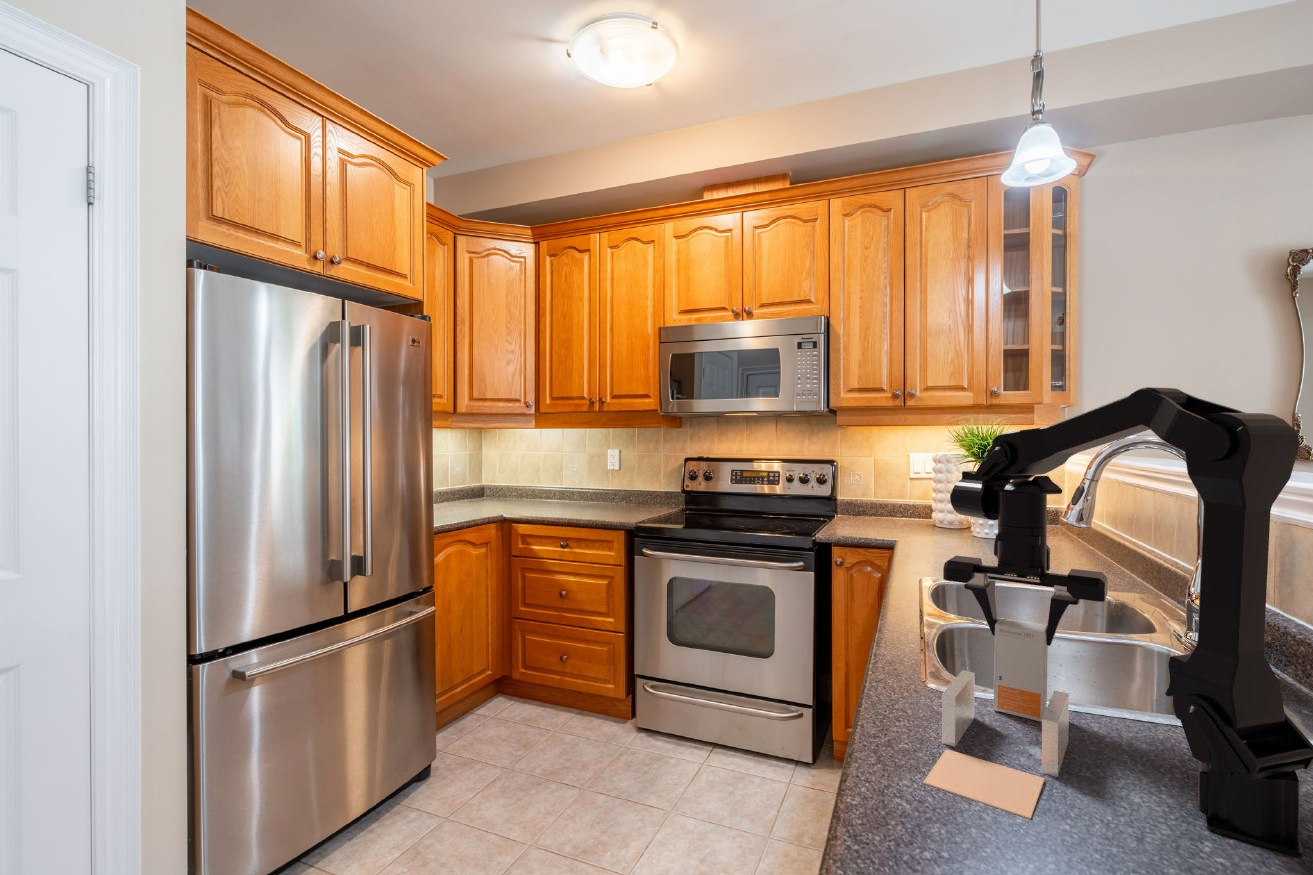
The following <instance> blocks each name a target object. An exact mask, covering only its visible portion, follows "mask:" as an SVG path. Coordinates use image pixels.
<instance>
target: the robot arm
mask: <svg viewBox="0 0 1313 875" xmlns="http://www.w3.org/2000/svg"><path fill="white" fill-rule="evenodd" d="M1149 430H1151V432H1153V433H1154V435H1156V436H1157V437H1158V438H1159V439H1160V440H1162V441H1163V442H1165V443H1167V444H1169V445H1171V446H1173V447H1175V448H1177V449H1179V450H1181V451H1184V459H1185V465H1186V471H1187V476H1188V477H1189V479H1190V481H1191V483H1192V484H1193V486H1194V488H1195V490H1196V492H1197V493H1198V495H1199V497H1200V499H1201V500H1202V506H1203V510H1202V512H1203V513H1202V533H1201V536H1202V537H1201V552H1200V554H1201V558H1200V575H1199V576H1200V577H1199V599H1198V618H1197V619H1198V622H1197V640H1196V644H1195V647H1194V648H1193V650H1192V651H1191V652H1190V653H1188V654H1180V655H1179V654H1178V655H1171V656H1170V657H1169V661H1168V664H1167V665H1168V667H1167V668H1168V674H1169V684H1168V687H1167V689H1166V691H1165V693H1164V694H1165V696H1166V697H1172V698H1171V704H1172V711H1173V713H1174V716H1175V718H1176V719H1178V720H1179V721H1180V722H1181V726H1182V729H1183V732H1184V735H1185V737H1186V738H1185V739H1186V741H1187V744H1188V747H1189V750H1190V753H1191V755H1192V757H1193V758H1194V759H1195V760H1197V761H1199V762H1198V768H1197V769H1198V770H1197V771H1198V777H1197V778H1198V779H1197V781H1198V782H1197V783H1198V784H1197V785H1198V786H1197V789H1198V790H1197V792H1198V793H1197V802H1198V811H1199V812H1200V813H1201V814H1202V815H1204V817H1205V819H1204V820H1205V825H1206V828H1207V830H1209V831H1212V832H1214V833H1217V834H1221V835H1225V836H1226V837H1227V836H1228V837H1231V838H1234V839H1238V840H1240V841H1245V842H1248V843H1251V844H1255V845H1257V846H1261V847H1265V848H1268V849H1271V850H1274V851H1278V852H1281V853H1284V854H1288V855H1291V856H1293V857H1295V856H1296V857H1299V858H1303V857H1304V849H1303V847H1302V843H1301V840H1300V779H1299V776H1298V774H1297V772H1296V771H1299V770H1310V769H1311V768H1312V766H1313V743H1312V742H1311V741H1310V740H1309V739H1308V738H1307V736H1306V735H1305V734H1304V733H1303V732H1302V731H1301V730H1300V728H1299V727H1298V726H1297V725H1296V724H1295V723H1294V722H1293V721H1292V720H1291V718H1290V717H1289V716H1288V715H1287V714H1286V712H1285V707H1284V702H1283V696H1282V695H1283V694H1282V689H1281V688H1282V687H1281V683H1280V681H1279V679H1278V677H1277V676H1276V674H1275V672H1274V670H1273V669H1272V667H1271V665H1270V664H1269V661H1268V659H1267V658H1266V655H1265V651H1264V650H1265V649H1264V648H1265V647H1264V646H1265V630H1266V628H1265V627H1266V611H1267V610H1266V609H1267V608H1266V607H1267V606H1266V605H1267V591H1268V589H1267V588H1268V587H1267V586H1268V569H1269V566H1268V565H1269V552H1270V551H1269V549H1270V532H1271V531H1270V530H1271V528H1270V527H1271V511H1272V508H1273V504H1274V503H1275V502H1276V500H1277V499H1278V498H1279V495H1280V494H1281V493H1282V491H1283V490H1284V488H1285V487H1286V485H1287V484H1288V482H1289V480H1290V479H1291V476H1292V474H1293V470H1294V467H1295V466H1294V465H1295V462H1296V459H1297V456H1298V452H1299V449H1300V448H1299V447H1300V438H1299V434H1298V432H1297V430H1296V428H1295V427H1294V426H1291V425H1290V424H1289V423H1288V422H1287V421H1286V420H1285V419H1284V418H1281V417H1279V416H1276V415H1274V414H1269V413H1263V412H1262V413H1261V412H1245V411H1242V410H1240V409H1236V408H1233V407H1230V406H1226V405H1222V404H1219V403H1216V402H1214V401H1213V402H1212V401H1209V400H1205V399H1202V398H1198V397H1196V396H1194V395H1192V394H1190V393H1187V392H1185V391H1182V390H1180V389H1178V388H1174V387H1154V386H1153V387H1151V386H1149V387H1148V386H1147V387H1141V388H1139V389H1137V390H1135V391H1133V392H1132V393H1130V394H1129V395H1127V396H1124V397H1122V398H1119V399H1116V400H1114V401H1112V402H1109V403H1106V404H1104V405H1100V406H1098V407H1095V408H1093V409H1090V410H1087V411H1086V412H1082V413H1080V414H1077V415H1075V416H1073V417H1069V418H1066V419H1064V420H1062V421H1059V422H1057V423H1056V422H1055V423H1053V424H1052V425H1048V426H1042V427H1038V428H1037V427H1036V428H1026V429H1018V430H1014V431H1007V432H1002V433H1000V434H998V435H996V436H995V437H994V438H993V439H992V441H991V443H992V444H991V446H990V448H989V450H988V451H987V453H986V454H985V456H984V458H983V459H982V461H981V463H980V464H979V466H978V467H977V469H976V470H962V471H961V479H959V480H958V481H957V482H955V484H954V486H953V488H952V489H951V492H950V494H949V502H950V505H951V508H952V509H953V510H954V512H956V513H957V514H958V515H961V516H964V517H971V518H978V519H983V520H989V521H997V534H995V539H994V544H993V555H994V556H995V557H996V558H997V565H996V566H995V565H987V564H983V561H982V558H981V557H980V558H979V557H972V556H965V555H964V556H963V555H954V556H952V557H951V558H949V559H947V560H946V561H945V562H944V564H943V570H942V571H943V573H942V574H943V575H942V577H943V580H944V581H949V582H955V583H961V584H962V583H963V584H964V585H963V588H964V589H965V590H966V591H967V590H969V591H971V592H972V594H973V596H974V598H975V601H977V603H978V605H979V607H980V608H981V611H982V613H983V615H984V617H985V620H986V623H987V625H988V628H989V630H990V632H991V635H992V636H994V637H995V624H996V622H997V621H998V614H997V612H998V611H997V603H996V602H997V601H996V581H1002V582H1007V583H1009V582H1010V583H1017V584H1022V585H1023V584H1025V585H1031V586H1039V587H1045V588H1046V587H1047V588H1053V590H1054V593H1053V594H1052V596H1051V598H1050V603H1049V611H1048V619H1047V620H1048V621H1047V625H1048V626H1047V634H1046V640H1047V646H1048V647H1051V646H1052V643H1053V641H1054V638H1055V635H1056V633H1057V630H1058V628H1059V625H1060V622H1061V621H1062V618H1063V615H1064V613H1065V612H1066V610H1067V608H1068V606H1070V605H1072V606H1078V605H1079V604H1080V602H1081V600H1084V601H1085V600H1086V601H1090V602H1099V603H1101V602H1105V601H1106V598H1107V596H1108V586H1109V585H1108V584H1109V583H1108V581H1109V580H1108V577H1107V575H1106V574H1105V573H1104V572H1102V571H1094V570H1087V569H1076V568H1071V569H1070V570H1069V571H1068V573H1067V574H1064V573H1063V574H1062V573H1054V572H1049V571H1050V569H1051V548H1050V546H1049V545H1048V543H1047V542H1048V541H1047V528H1048V527H1047V523H1048V522H1047V520H1048V519H1047V518H1048V517H1047V516H1048V515H1047V514H1048V511H1047V510H1048V507H1047V504H1048V501H1047V500H1048V497H1047V496H1048V495H1061V494H1062V493H1063V488H1061V487H1060V486H1059V485H1058V484H1057V483H1055V482H1054V481H1053V480H1052V479H1051V477H1050V476H1048V475H1046V474H1047V473H1050V472H1052V471H1054V470H1055V469H1058V468H1059V467H1061V466H1062V465H1065V463H1067V461H1068V460H1069V459H1070V458H1071V457H1073V456H1074V455H1076V454H1078V453H1081V452H1085V451H1087V450H1091V449H1093V448H1094V449H1095V448H1097V447H1099V446H1103V445H1107V444H1109V443H1113V442H1115V441H1119V440H1121V439H1125V438H1128V437H1131V436H1134V435H1137V434H1140V433H1143V432H1146V431H1149Z"/></svg>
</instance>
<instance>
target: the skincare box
mask: <svg viewBox="0 0 1313 875" xmlns="http://www.w3.org/2000/svg"><path fill="white" fill-rule="evenodd" d="M1047 626H1048V624H1043V623H1037V622H1031V621H1027V620H1019V619H1018V620H1017V619H1011V618H1010V619H1009V618H1005V617H1004V618H1003V617H997V622H996V624H995V636H994V657H993V658H994V659H993V660H994V664H993V665H994V666H993V668H994V669H993V711H994V712H1000V713H1005V714H1009V715H1012V716H1015V717H1021V718H1024V719H1029V720H1032V721H1037V722H1040V723H1042V718H1043V716H1044V713H1045V711H1046V709H1047V706H1048V702H1047V701H1048V700H1047V699H1048V698H1047V697H1048V696H1047V695H1048V654H1049V653H1048V652H1049V650H1048V648H1049V646H1047V640H1046V634H1047Z"/></svg>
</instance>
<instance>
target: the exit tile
mask: <svg viewBox="0 0 1313 875" xmlns="http://www.w3.org/2000/svg"><path fill="white" fill-rule="evenodd" d="M922 782H923V783H922V784H924V785H926V786H930V787H933V788H936V789H938V790H942V791H945V792H948V793H951V794H954V795H956V796H960V797H963V798H965V799H968V800H970V801H974V802H977V803H980V804H983V805H986V806H990V807H992V808H996V809H999V810H1000V811H1004V812H1007V813H1010V814H1014V815H1016V816H1019V817H1023V818H1025V819H1028V820H1032V817H1033V815H1034V811H1035V808H1036V805H1037V804H1038V799H1039V797H1040V796H1041V791H1042V790H1043V786H1044V783H1045V778H1044V777H1042V776H1038V775H1035V774H1032V773H1027V772H1024V771H1021V770H1018V769H1015V768H1011V767H1008V766H1004V765H1001V764H998V763H994V762H991V761H988V760H984V759H980V758H977V757H975V756H971V755H969V754H968V755H967V754H965V753H960V752H958V751H957V752H956V751H954V750H951V749H949V748H946V749H945V750H944V751H943V753H942V754H941V756H940V757H939V759H938V760H937V761H936V763H935V764H934V766H933V767H932V768H931V770H930V771H929V773H928V775H927V776H926V778H925V779H924V780H923V781H922Z"/></svg>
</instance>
